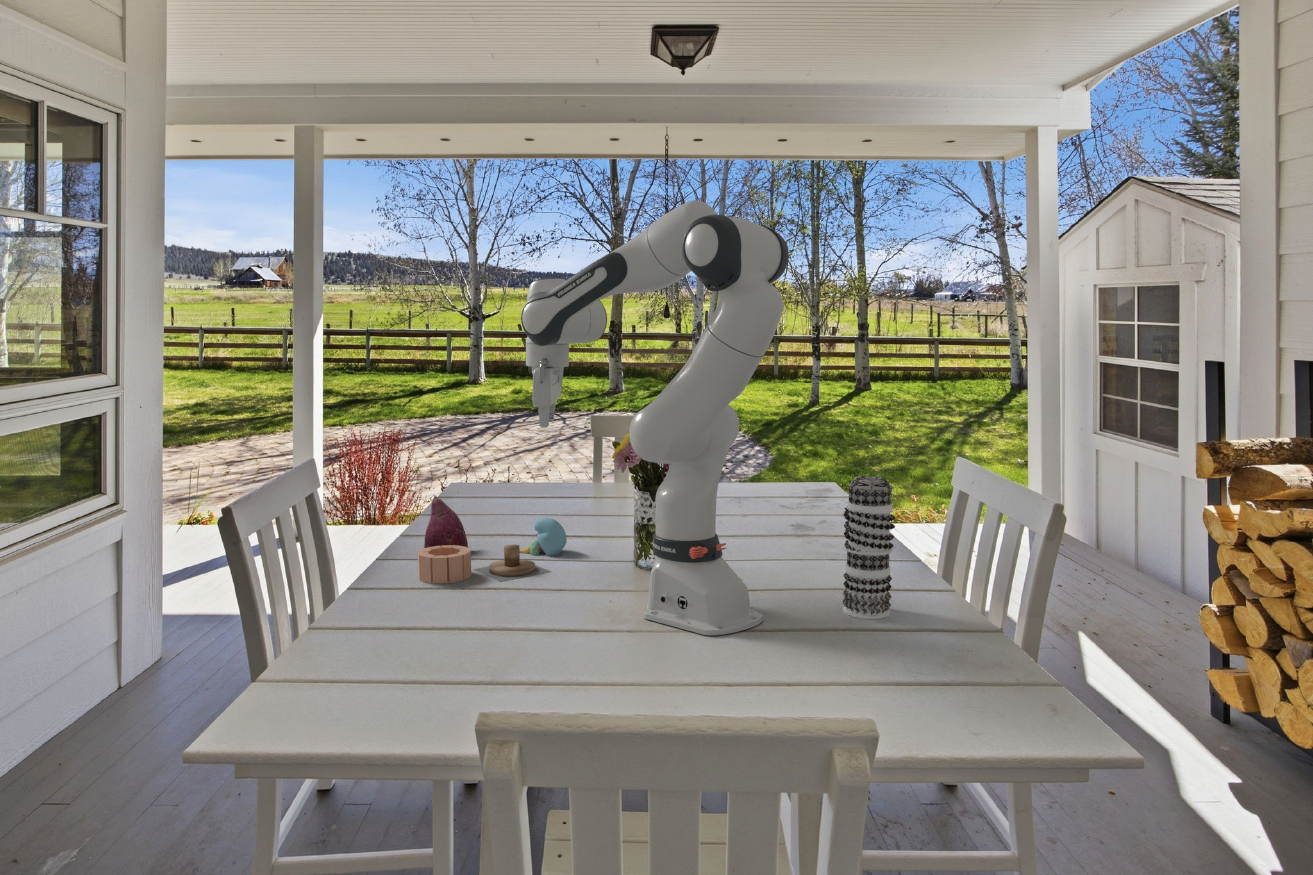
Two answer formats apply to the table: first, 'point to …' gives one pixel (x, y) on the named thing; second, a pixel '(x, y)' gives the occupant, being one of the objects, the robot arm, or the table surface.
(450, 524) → the vegetable
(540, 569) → the mat
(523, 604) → the table surface
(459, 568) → the faceted hollow tube
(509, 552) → the lid
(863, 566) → the decorative candle
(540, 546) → the toy flower bud
